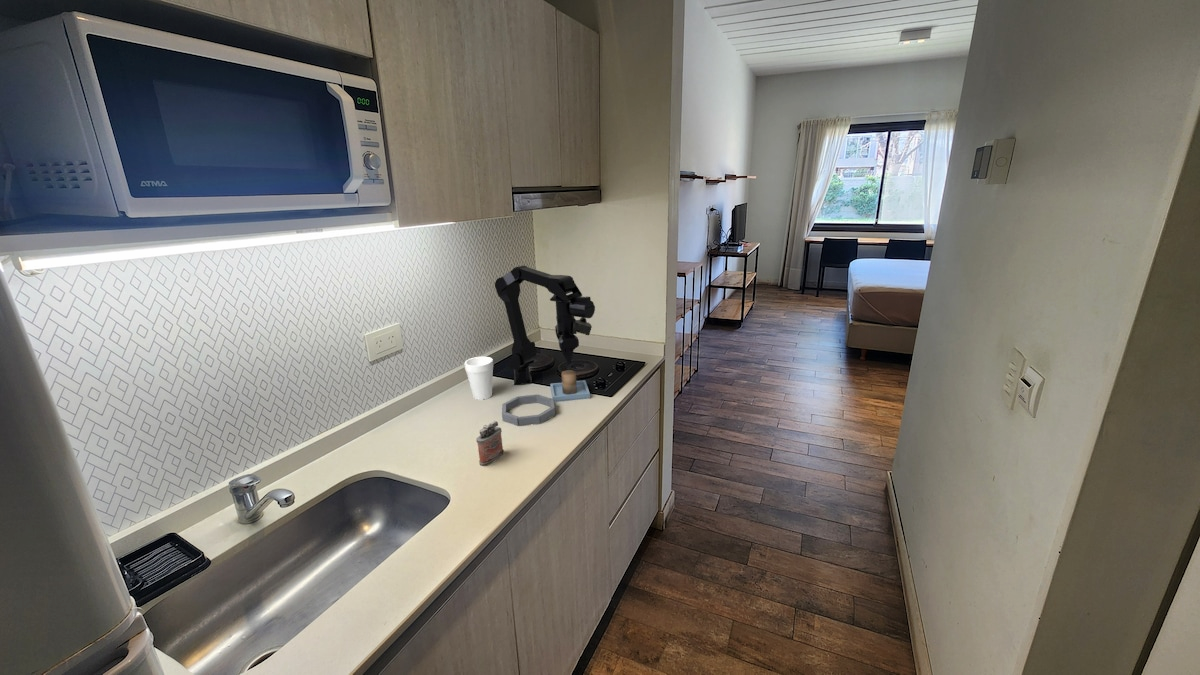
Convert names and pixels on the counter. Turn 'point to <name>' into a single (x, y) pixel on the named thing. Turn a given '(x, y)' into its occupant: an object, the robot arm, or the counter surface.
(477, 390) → the foam cup
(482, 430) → the lighter
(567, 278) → the robot arm
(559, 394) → the tray
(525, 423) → the holder ring
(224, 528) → the counter surface
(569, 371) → the walnut cylinder
